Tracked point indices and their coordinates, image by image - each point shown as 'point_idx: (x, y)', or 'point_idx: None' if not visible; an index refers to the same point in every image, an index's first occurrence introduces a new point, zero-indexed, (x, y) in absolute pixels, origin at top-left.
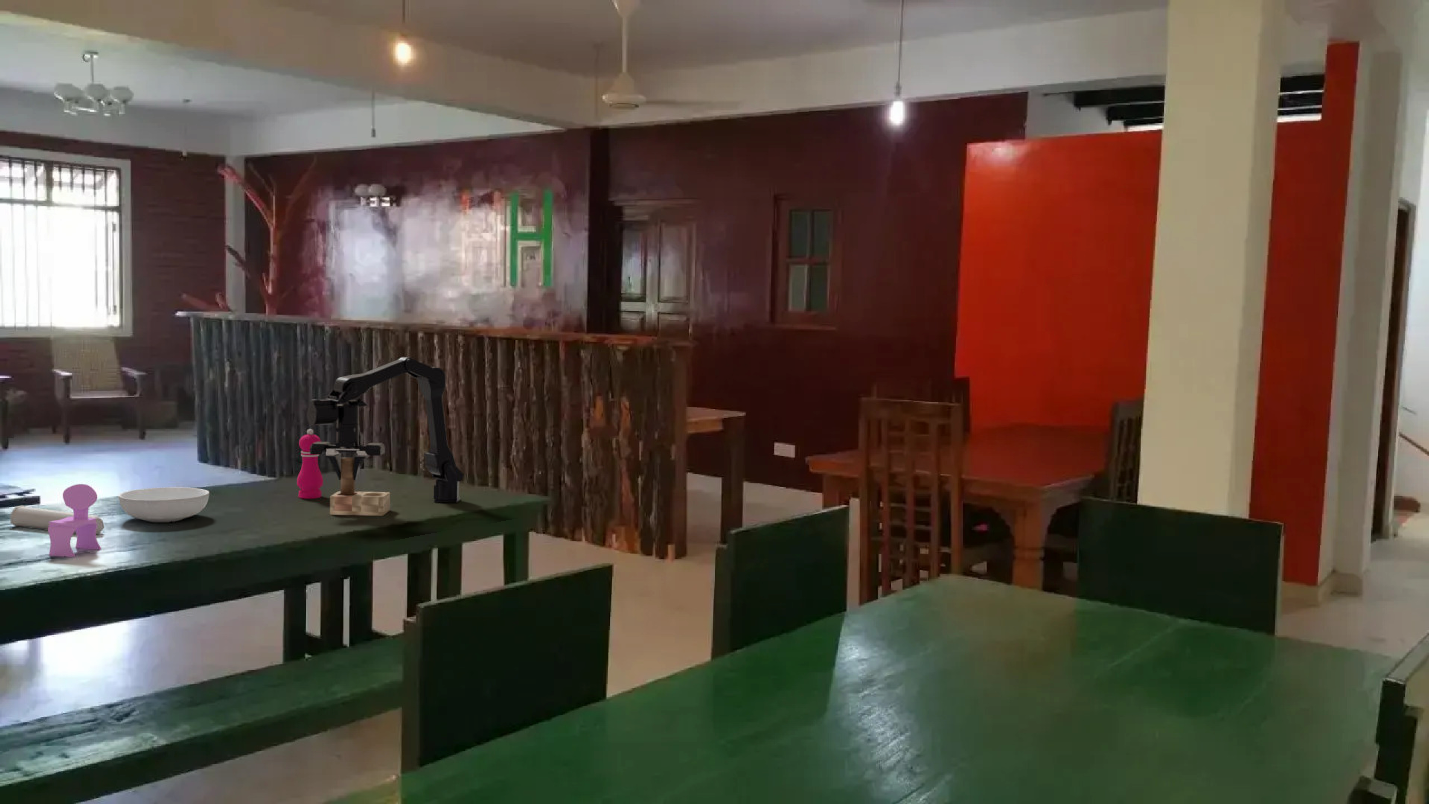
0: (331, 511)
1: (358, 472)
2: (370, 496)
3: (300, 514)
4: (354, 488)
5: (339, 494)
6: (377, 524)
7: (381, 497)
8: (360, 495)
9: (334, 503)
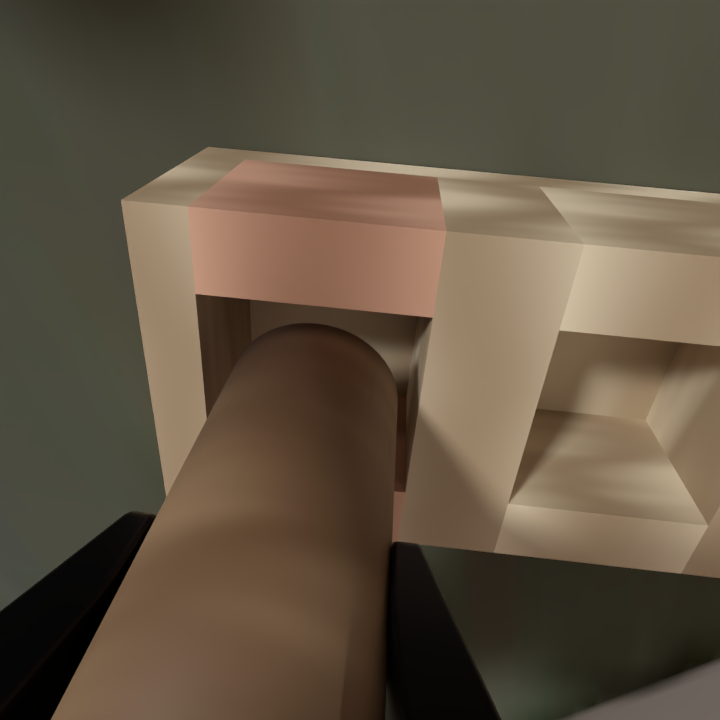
0: None
1: (471, 686)
2: (595, 536)
3: (3, 388)
4: (395, 454)
5: (206, 357)
6: (590, 658)
7: (712, 575)
8: (480, 485)
9: None
